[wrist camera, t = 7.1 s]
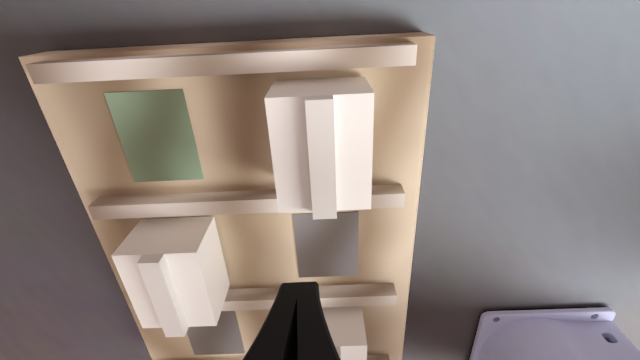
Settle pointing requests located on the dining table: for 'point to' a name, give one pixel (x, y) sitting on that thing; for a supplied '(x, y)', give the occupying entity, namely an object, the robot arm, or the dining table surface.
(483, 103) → the dining table surface
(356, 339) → the switch knob
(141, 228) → the switch knob
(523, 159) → the dining table surface
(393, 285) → the switch board
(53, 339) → the dining table surface
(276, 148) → the switch knob
